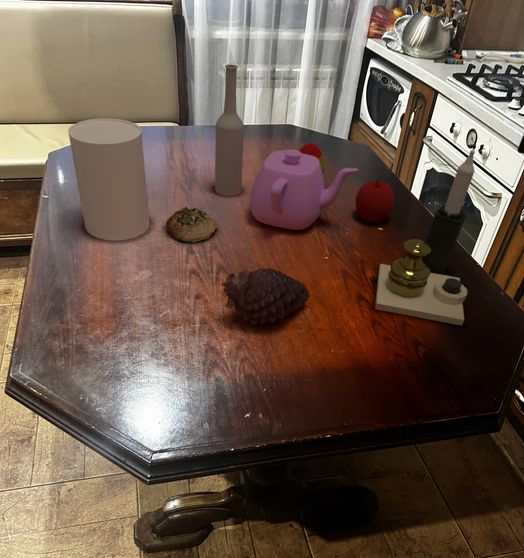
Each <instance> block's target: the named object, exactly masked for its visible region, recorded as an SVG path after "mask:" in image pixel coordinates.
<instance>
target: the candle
mask: <svg viewBox="0 0 524 558" xmlns="http://www.w3.org/2000/svg"><path fill="white" fill-rule="evenodd" d="M475 153H476V152H475V150H474V149H472V150H470V151H469V154H468V156H467V158H466V159H465V160H464V162H462V163H461V164H460V165H459V166H458V167H457V170H456V173H455V176H454V179H453V183H452V185H451V188H450V190H449V193H448V197H447V200H446V203H445V204H443V205H441V206H440V207H439V208H438V209H437V211H435V213H434V216H433V219H432V223H431V225H430V229H429V231H428V234H427V238H426V240H425V242H426V243H427V244H428V245H429V246H430V247H431V252H430V253H429V254H428V255H426V256H423V257H422V260H423V261H424V262H425V263H426V264H427V265H428V267H429V269H430V273H435V274H440V275H444V274H445V272H446V271H447V268H448V265H449V263H450V259H451V258H452V255H453V252H454V250H455V246H456V244H457V241H458V238H459V236H460V233H461V231H462V228H463V225H464V222H465V220H466V217H467V214H466V212H465V211H464V210H463V209H462V208H463V204H464V201H465V199H466V196H467V194H468V191H469V188H470V186H471V183H472V180H473V177H474V174H475V167H474V155H475Z"/></svg>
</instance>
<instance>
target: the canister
mask: <svg viewBox="0 0 524 558" xmlns="http://www.w3.org/2000/svg"><path fill="white" fill-rule="evenodd" d="M67 133H68V137H69V143H70V148H71V153H72V160H73V165H74V171H75V176H76V182H77V187H78V194H79V198H80V204H81V211H82V216H83V221H84V227H85V230H86V232H87V233H88V234H89V235H90V236H92V237H94V238H97V239H100V240H106V241H125V240H131V239H135V238H137V237H139V236H142V235H143V234H144V233H146V232H147V231H148V229H149V227H150V214H149V213H150V212H149V204H148V203H149V201H148V192H147V191H148V190H147V180H146V169H145V168H146V167H145V166H146V165H145V156H144V144H143V143H144V142H143V132H142V128H141V127H140V126H139V125H138V124H137V123H135V122H132V121H130V120H126V119H122V118H121V119H120V118H112V117H111V118H110V117H103V118H101V117H100V118H98V117H97V118H91V119H86V120H82V121H79V122H76V123H74V124H73V125H70V127H69V128H68V132H67Z"/></svg>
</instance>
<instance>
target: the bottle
mask: <svg viewBox="0 0 524 558" xmlns="http://www.w3.org/2000/svg"><path fill="white" fill-rule="evenodd" d="M224 68H225V77H224V78H225V79H224V81H225V82H224V102H223V112H222V114H221V115H220V116H219V117H218V119H217V120H216V122H215V146H214V147H215V148H214V149H215V150H214V151H215V153H214V155H215V156H214V191H215V193H217V194H218V195H221V196H224V197H235V196H238V195H240V194H241V192H242V183H243V182H242V181H243V180H242V179H243V157H244V155H243V154H244V127H245V126H244V122H243V120H242V119H241V118H240V116H239V115H238V112H237V80H238V79H237V76H238V75H237V73H238V69H239V66H238V65H236V64H232V63H228V64H225V65H224Z"/></svg>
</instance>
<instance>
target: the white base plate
mask: <svg viewBox="0 0 524 558" xmlns="http://www.w3.org/2000/svg"><path fill="white" fill-rule="evenodd" d="M390 266H391V264H385V263H380V264H379V266H378V267H379V268H378V273H377V274H378V275H377V283H376V292H375V294H376V295H375V303H374V310H378V311H383V312H389V313H392V314H399V315H404V316H410V317H414V318H420V319H426V320H430V321H435V322H441V323H447V324H451V325H457V326H463V325H464V322H465V313H464V305H463V303H464V302H465V300H466V299H467V295H468V289H467V287H465V286H464V285H463V284H462V286H461V288H460V290H459V293H458V294H450V293H447V292H445V291H444V290H443V286H444V283H445V281H446V279H448V278H454V279H457V280H459V281H460V282H461V278H460V277H457V276H450V275H445V274H443V275H440V274H435V273H430V276H429V278H428V279H427V284H426V286H425V289H424V292H423V293H422V294H421V295H419V296H415V297H406V296H401V295H398V294H396V293H394V292H393V291H391V290H390V289H389V288H388V286H387V283H386V281H387V278H388V273H389V271H390Z"/></svg>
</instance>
